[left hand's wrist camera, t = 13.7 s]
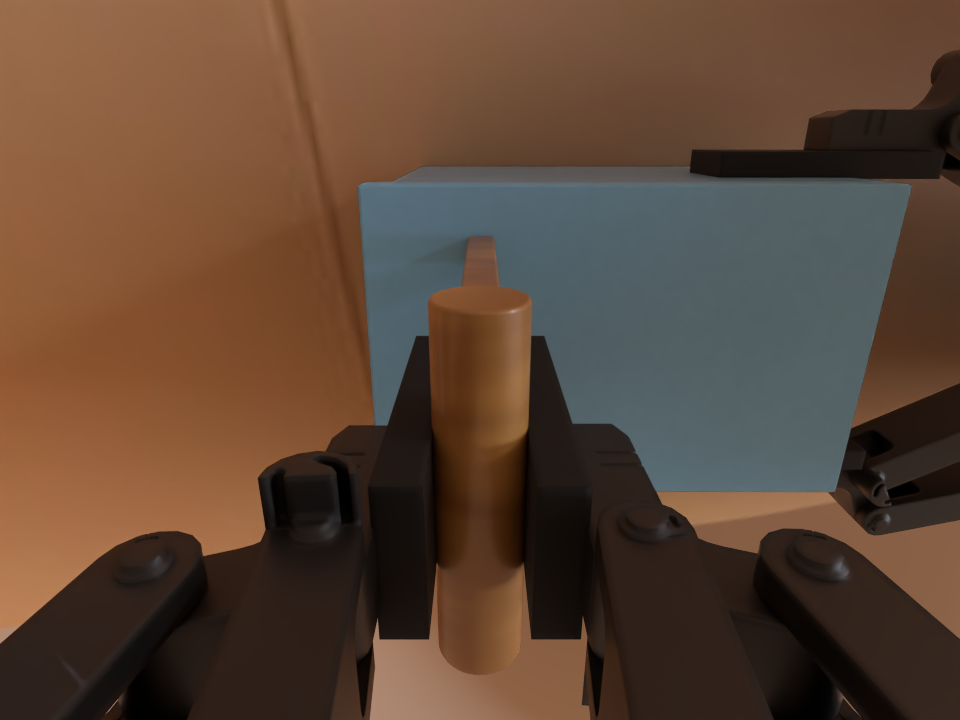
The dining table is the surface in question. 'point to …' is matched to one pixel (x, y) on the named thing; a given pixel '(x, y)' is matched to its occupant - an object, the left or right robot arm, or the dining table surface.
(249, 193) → the dining table surface
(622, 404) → the lid
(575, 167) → the chest
